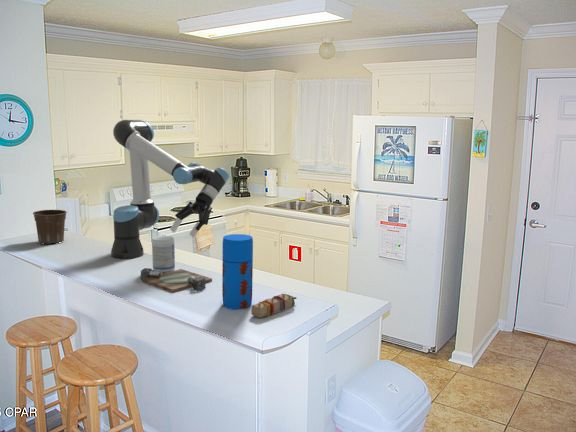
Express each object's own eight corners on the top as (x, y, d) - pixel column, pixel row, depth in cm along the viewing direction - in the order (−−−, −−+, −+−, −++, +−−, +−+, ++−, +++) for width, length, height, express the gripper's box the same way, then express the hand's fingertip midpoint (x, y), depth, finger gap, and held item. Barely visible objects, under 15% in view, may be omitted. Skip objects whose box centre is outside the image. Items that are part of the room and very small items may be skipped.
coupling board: (142, 281, 212) (142, 278, 212) (181, 271, 228) (181, 268, 227) (172, 292, 200) (172, 288, 200) (212, 281, 215) (212, 277, 215)
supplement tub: (178, 271, 228) (177, 238, 225) (157, 274, 222) (156, 241, 220) (170, 266, 236) (169, 234, 233) (149, 269, 230) (148, 236, 228)
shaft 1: (160, 278, 217) (160, 269, 216) (156, 281, 213) (156, 272, 212) (145, 277, 218) (144, 268, 217) (140, 280, 214) (140, 270, 214)
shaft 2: (186, 286, 207) (185, 277, 207) (193, 284, 210) (193, 275, 210) (197, 290, 203) (197, 280, 202) (205, 288, 206) (205, 278, 205)
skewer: (262, 321, 174) (262, 307, 173) (248, 316, 179) (249, 302, 178) (302, 306, 190) (303, 293, 189) (289, 301, 194) (289, 289, 193)
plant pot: (75, 240, 279) (73, 211, 277) (51, 247, 265) (50, 215, 262) (51, 237, 285) (49, 208, 282) (27, 243, 270) (25, 213, 267)
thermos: (218, 301, 192) (219, 235, 187) (246, 297, 196) (247, 233, 192) (227, 311, 182) (227, 241, 178) (256, 307, 186) (257, 239, 182)
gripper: (229, 204, 237) (204, 242, 228) (193, 198, 252) (169, 233, 243) (220, 194, 232) (195, 232, 223) (184, 188, 247) (159, 224, 238)
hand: (181, 233), depth 233 cm, fingers open, 13 cm apart
